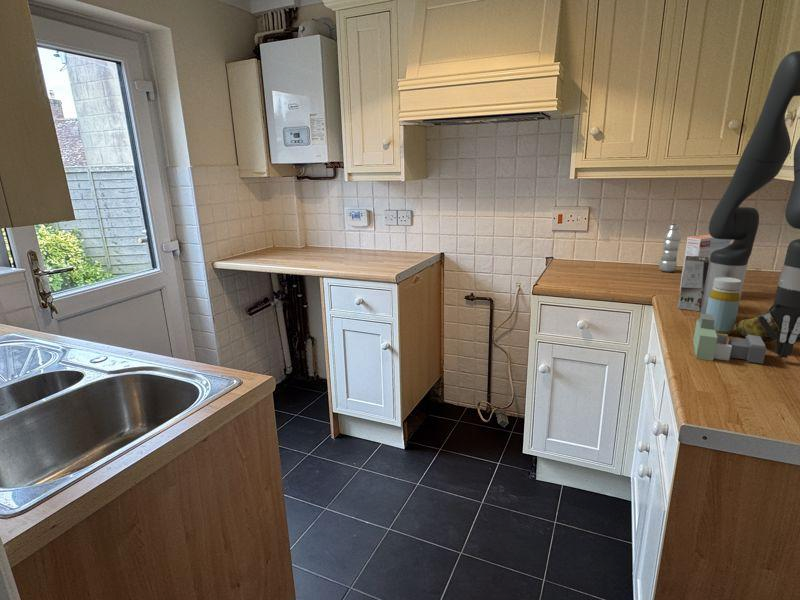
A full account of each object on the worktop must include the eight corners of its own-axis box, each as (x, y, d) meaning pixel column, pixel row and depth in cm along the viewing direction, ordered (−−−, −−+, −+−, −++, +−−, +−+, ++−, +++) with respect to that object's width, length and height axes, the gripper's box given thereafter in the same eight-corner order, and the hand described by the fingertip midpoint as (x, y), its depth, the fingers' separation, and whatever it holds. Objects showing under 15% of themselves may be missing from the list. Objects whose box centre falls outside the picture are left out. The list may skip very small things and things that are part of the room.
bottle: (705, 325, 137) (714, 275, 133) (733, 330, 133) (744, 278, 129) (701, 331, 132) (710, 280, 128) (731, 337, 128) (742, 284, 124)
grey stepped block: (726, 347, 120) (729, 331, 119) (757, 352, 118) (760, 336, 116) (730, 358, 114) (733, 342, 113) (762, 363, 111) (766, 346, 110)
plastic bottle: (654, 270, 204) (661, 224, 199) (667, 269, 206) (674, 223, 201) (666, 273, 198) (674, 226, 193) (679, 272, 200) (687, 225, 195)
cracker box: (706, 289, 174) (717, 233, 168) (721, 294, 168) (733, 235, 162) (677, 293, 170) (686, 235, 164) (691, 297, 164) (702, 238, 158)
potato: (769, 337, 128) (775, 309, 126) (781, 354, 117) (788, 324, 115) (732, 332, 131) (738, 305, 129) (741, 349, 120) (747, 319, 118)
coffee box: (700, 311, 150) (709, 261, 145) (677, 308, 153) (685, 259, 148) (700, 304, 157) (709, 256, 152) (678, 301, 160) (686, 254, 156)
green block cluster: (693, 340, 126) (698, 310, 124) (723, 345, 123) (730, 314, 120) (695, 358, 115) (701, 325, 113) (729, 363, 112) (736, 330, 109)
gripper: (831, 285, 107) (813, 355, 112) (760, 279, 113) (745, 346, 118) (842, 293, 101) (822, 367, 106) (766, 286, 107) (750, 357, 112)
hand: (781, 356), depth 112 cm, fingers closed
